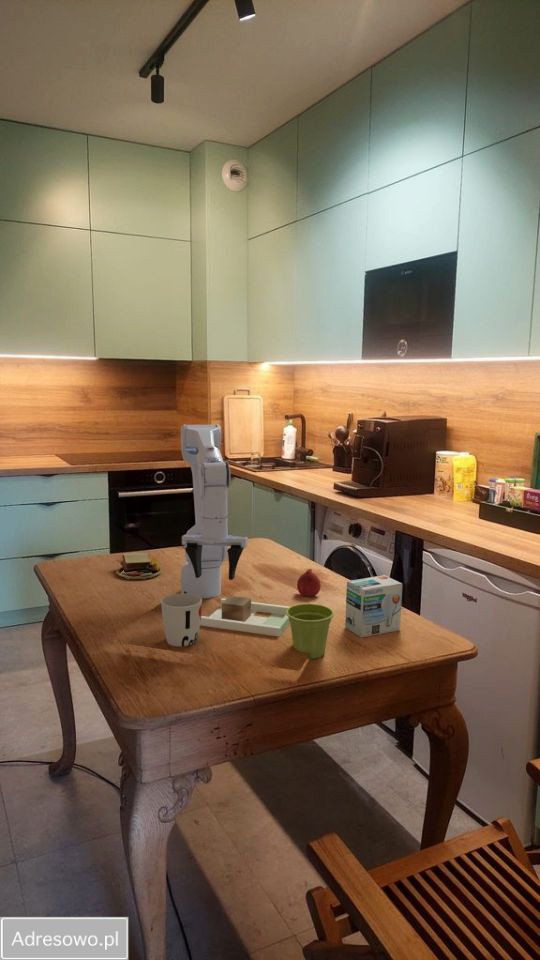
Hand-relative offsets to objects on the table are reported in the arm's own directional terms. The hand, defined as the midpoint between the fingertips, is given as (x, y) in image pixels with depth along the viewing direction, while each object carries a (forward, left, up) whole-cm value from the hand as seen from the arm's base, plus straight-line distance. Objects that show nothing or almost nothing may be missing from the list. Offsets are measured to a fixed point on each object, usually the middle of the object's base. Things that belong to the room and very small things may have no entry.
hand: (215, 577), depth 142 cm
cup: (-1, -14, -11) cm, 18 cm away
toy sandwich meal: (-34, +26, -11) cm, 45 cm away
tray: (+8, +1, -10) cm, 13 cm away
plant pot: (+24, -8, -11) cm, 27 cm away
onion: (+16, +22, -11) cm, 29 cm away
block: (+5, +1, -9) cm, 10 cm away
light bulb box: (+34, +9, -11) cm, 37 cm away
